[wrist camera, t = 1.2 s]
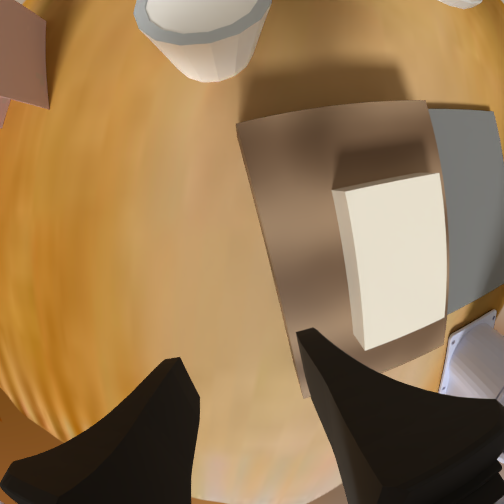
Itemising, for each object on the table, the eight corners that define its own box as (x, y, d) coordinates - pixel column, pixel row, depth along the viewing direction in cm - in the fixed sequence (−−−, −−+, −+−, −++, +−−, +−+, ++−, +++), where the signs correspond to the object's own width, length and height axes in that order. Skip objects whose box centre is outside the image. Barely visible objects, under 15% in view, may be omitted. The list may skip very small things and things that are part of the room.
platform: (419, 323, 21) (443, 344, 17) (294, 366, 21) (303, 398, 17) (395, 111, 16) (425, 100, 13) (237, 136, 17) (235, 123, 13)
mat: (501, 280, 21) (505, 282, 20) (423, 321, 21) (427, 324, 20) (489, 112, 16) (493, 111, 16) (400, 111, 16) (404, 109, 16)
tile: (428, 305, 16) (444, 317, 14) (353, 333, 16) (364, 350, 14) (419, 172, 14) (439, 172, 12) (331, 190, 14) (345, 191, 12)
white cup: (153, 85, 16) (113, 45, 9) (180, 12, 14) (160, -43, 7) (251, 98, 16) (256, 53, 9) (271, 21, 15) (283, -36, 8)
